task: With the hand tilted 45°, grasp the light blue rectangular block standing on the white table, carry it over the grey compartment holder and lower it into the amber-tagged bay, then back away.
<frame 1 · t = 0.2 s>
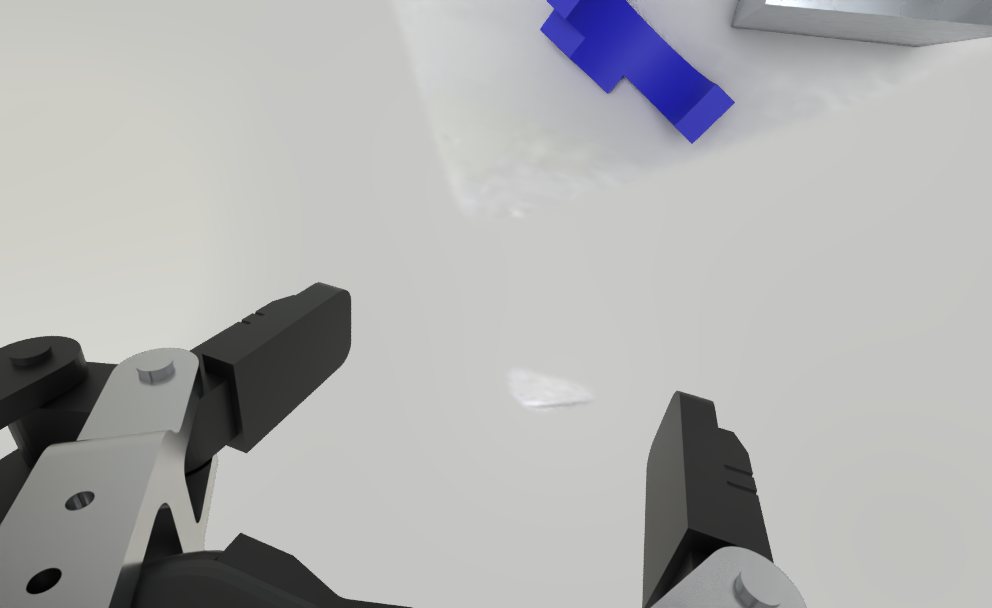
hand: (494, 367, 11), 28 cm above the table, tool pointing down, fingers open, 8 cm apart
blue piece: (632, 66, 33), on the table
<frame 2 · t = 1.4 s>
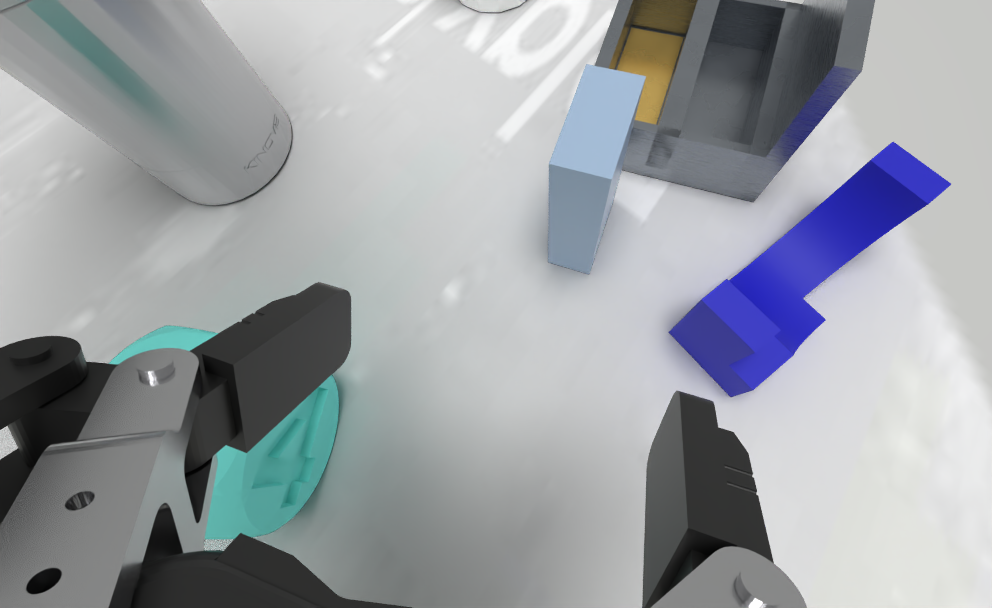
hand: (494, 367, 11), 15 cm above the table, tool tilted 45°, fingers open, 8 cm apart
blue piece: (775, 298, 26), on the table
decorative dice: (271, 431, 27), on the table
light blue rectangular block: (581, 231, 28), on the table
grey compartment holder: (680, 110, 30), on the table
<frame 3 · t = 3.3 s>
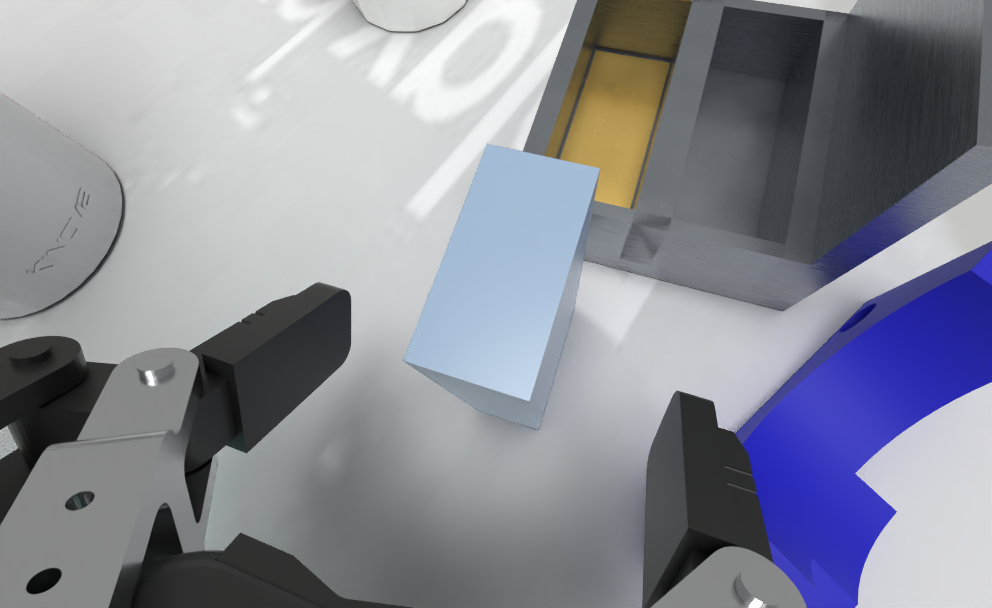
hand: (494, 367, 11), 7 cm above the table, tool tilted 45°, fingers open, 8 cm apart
blue piece: (807, 455, 17), on the table
light blue rectangular block: (526, 359, 19), on the table
grey compartment holder: (669, 168, 21), on the table
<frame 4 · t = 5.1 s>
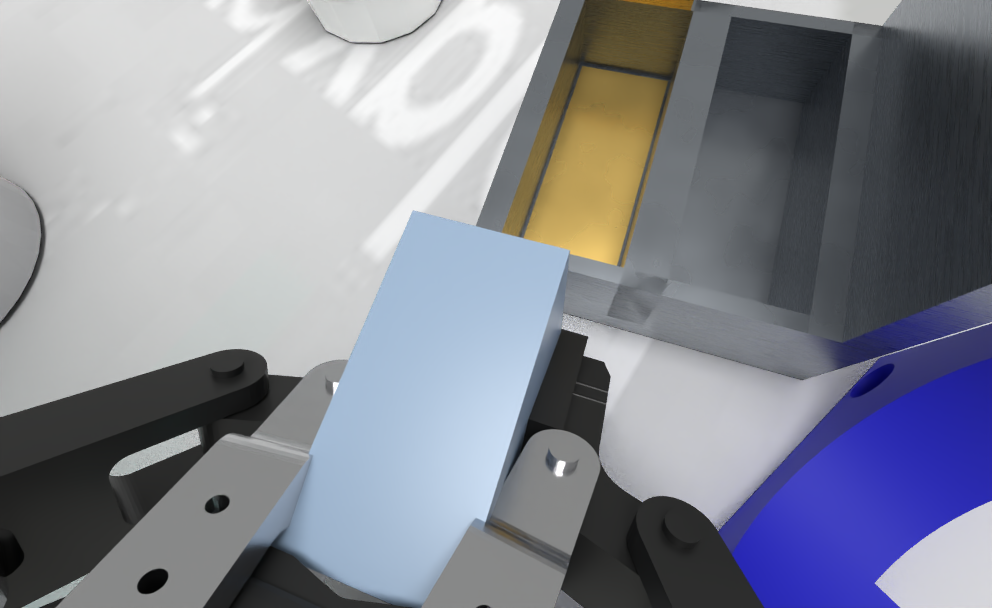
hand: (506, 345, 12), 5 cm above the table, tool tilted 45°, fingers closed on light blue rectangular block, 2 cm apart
blue piece: (814, 547, 14), on the table
light blue rectangular block: (499, 435, 16), on the table, touching gripper
grey compartment holder: (666, 203, 18), on the table
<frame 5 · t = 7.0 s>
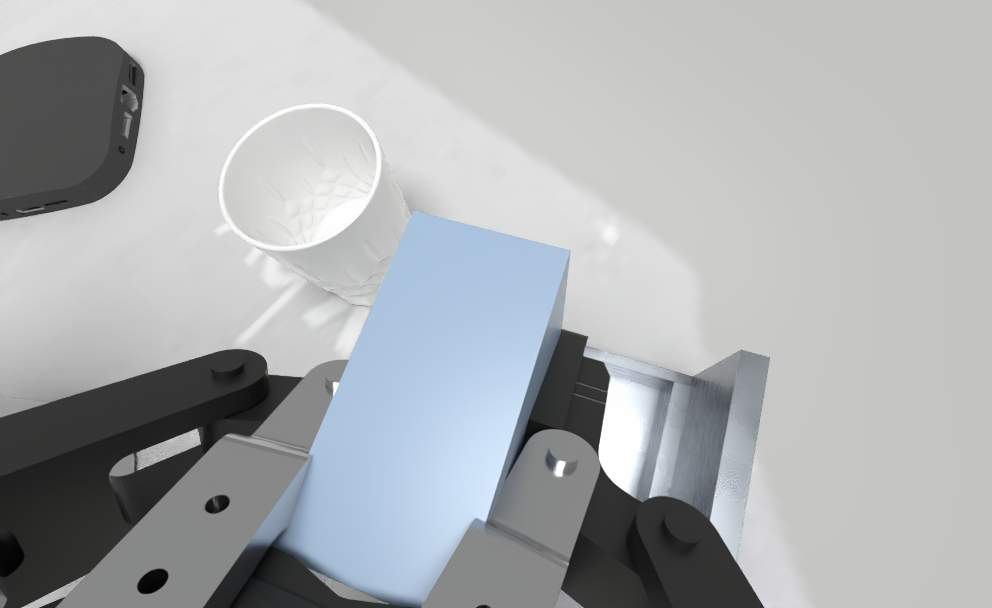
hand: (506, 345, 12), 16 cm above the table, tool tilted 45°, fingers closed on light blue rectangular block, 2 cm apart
media streaming box: (62, 139, 38), on the table
light blue rectangular block: (499, 435, 16), point 11 cm above the table, touching gripper
white cup: (375, 260, 31), on the table
grey compartment holder: (570, 455, 26), on the table
when the fingers open (7 cm above the table, at t = 9.2 s): light blue rectangular block drops 2 cm, resting on grey compartment holder.
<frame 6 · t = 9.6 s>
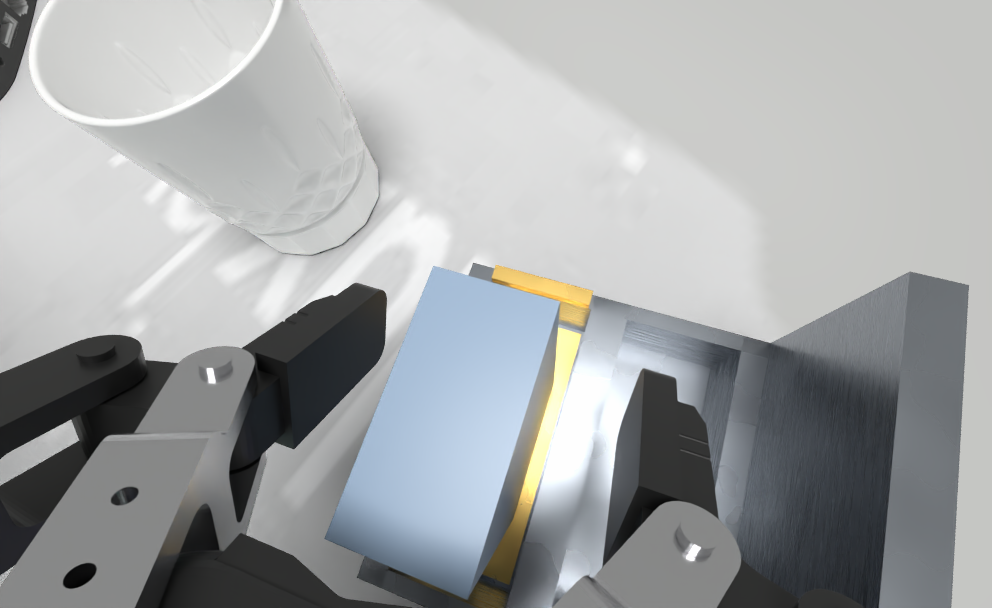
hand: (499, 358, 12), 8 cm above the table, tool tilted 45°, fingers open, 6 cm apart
light blue rectangular block: (502, 437, 17), point 1 cm above the table, touching grey compartment holder
white cup: (316, 196, 23), on the table
grey compartment holder: (578, 461, 18), on the table
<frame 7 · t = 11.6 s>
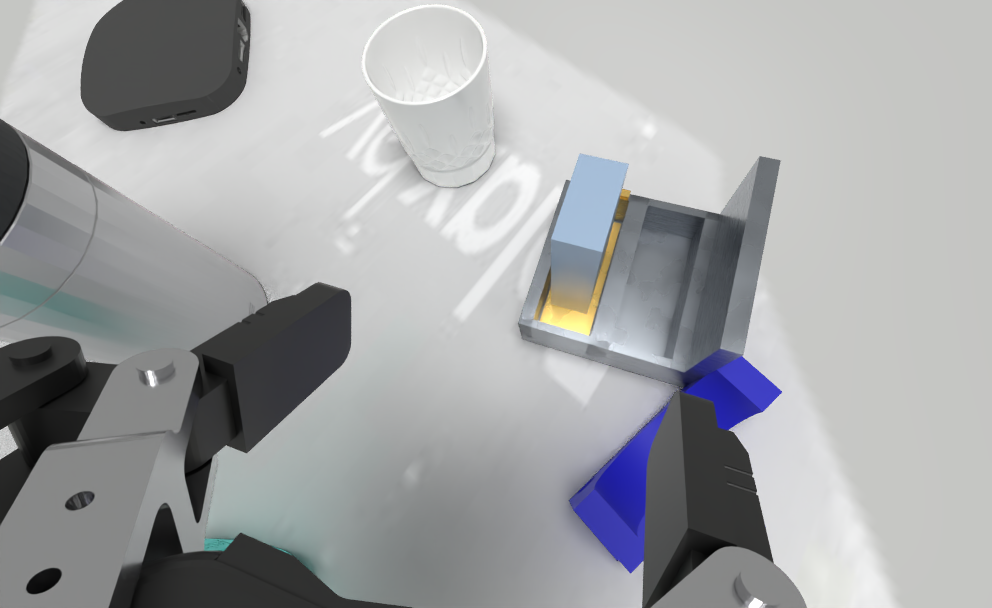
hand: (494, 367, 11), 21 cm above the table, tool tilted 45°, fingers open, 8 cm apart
blue piece: (663, 461, 29), on the table, touching grey compartment holder
media streaming box: (181, 67, 46), on the table
light blue rectangular block: (579, 276, 32), point 1 cm above the table, touching grey compartment holder
white cup: (455, 154, 38), on the table
grey compartment holder: (619, 291, 33), on the table
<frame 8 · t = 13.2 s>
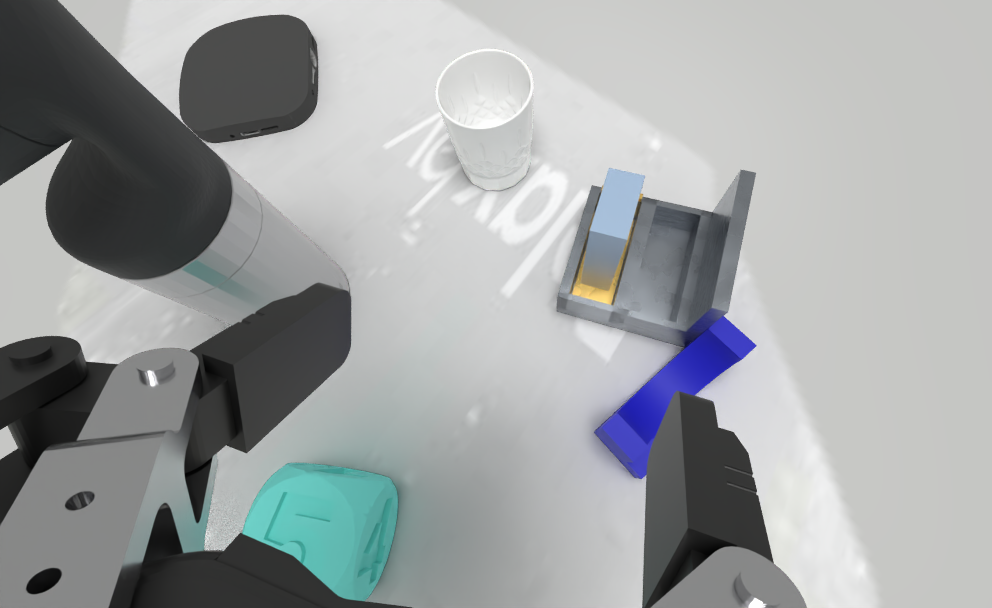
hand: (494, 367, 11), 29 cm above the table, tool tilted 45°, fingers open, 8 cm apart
blue piece: (666, 404, 38), on the table
media streaming box: (259, 88, 54), on the table
decorative dice: (349, 521, 38), on the table
light blue rectangular block: (601, 261, 41), point 1 cm above the table, touching grey compartment holder
white cup: (497, 163, 47), on the table
grey compartment holder: (633, 273, 42), on the table
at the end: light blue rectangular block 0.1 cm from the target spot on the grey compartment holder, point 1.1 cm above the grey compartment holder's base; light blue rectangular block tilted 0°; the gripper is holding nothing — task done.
